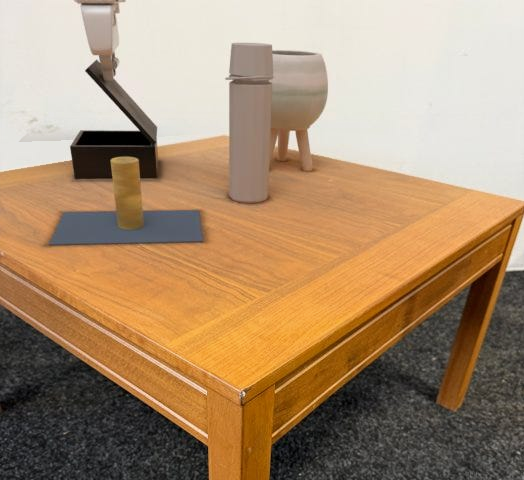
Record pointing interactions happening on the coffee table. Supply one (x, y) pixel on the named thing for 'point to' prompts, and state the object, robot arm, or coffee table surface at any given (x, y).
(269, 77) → the water bottle
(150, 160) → the box
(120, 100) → the black box lid
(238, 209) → the coffee table surface
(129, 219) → the yellow cylinder
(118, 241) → the mat
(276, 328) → the coffee table surface
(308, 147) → the planter
